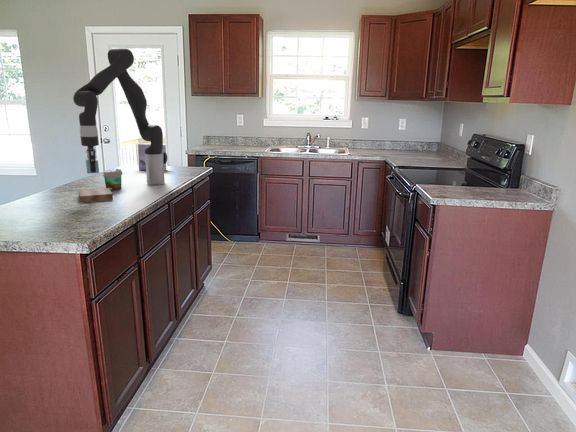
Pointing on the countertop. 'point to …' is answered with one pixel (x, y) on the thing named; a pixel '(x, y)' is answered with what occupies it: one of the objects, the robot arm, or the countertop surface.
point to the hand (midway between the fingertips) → (92, 171)
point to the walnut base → (95, 195)
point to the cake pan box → (142, 156)
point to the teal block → (90, 168)
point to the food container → (113, 179)
